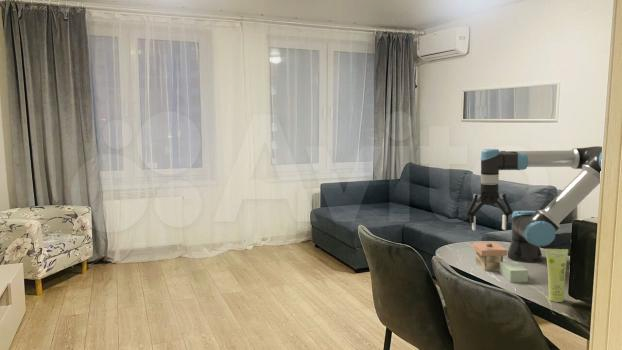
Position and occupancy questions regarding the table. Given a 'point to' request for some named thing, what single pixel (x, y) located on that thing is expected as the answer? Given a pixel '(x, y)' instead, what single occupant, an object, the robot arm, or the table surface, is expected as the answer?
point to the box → (489, 262)
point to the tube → (556, 273)
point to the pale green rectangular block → (513, 272)
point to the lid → (490, 249)
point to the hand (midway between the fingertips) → (488, 229)
